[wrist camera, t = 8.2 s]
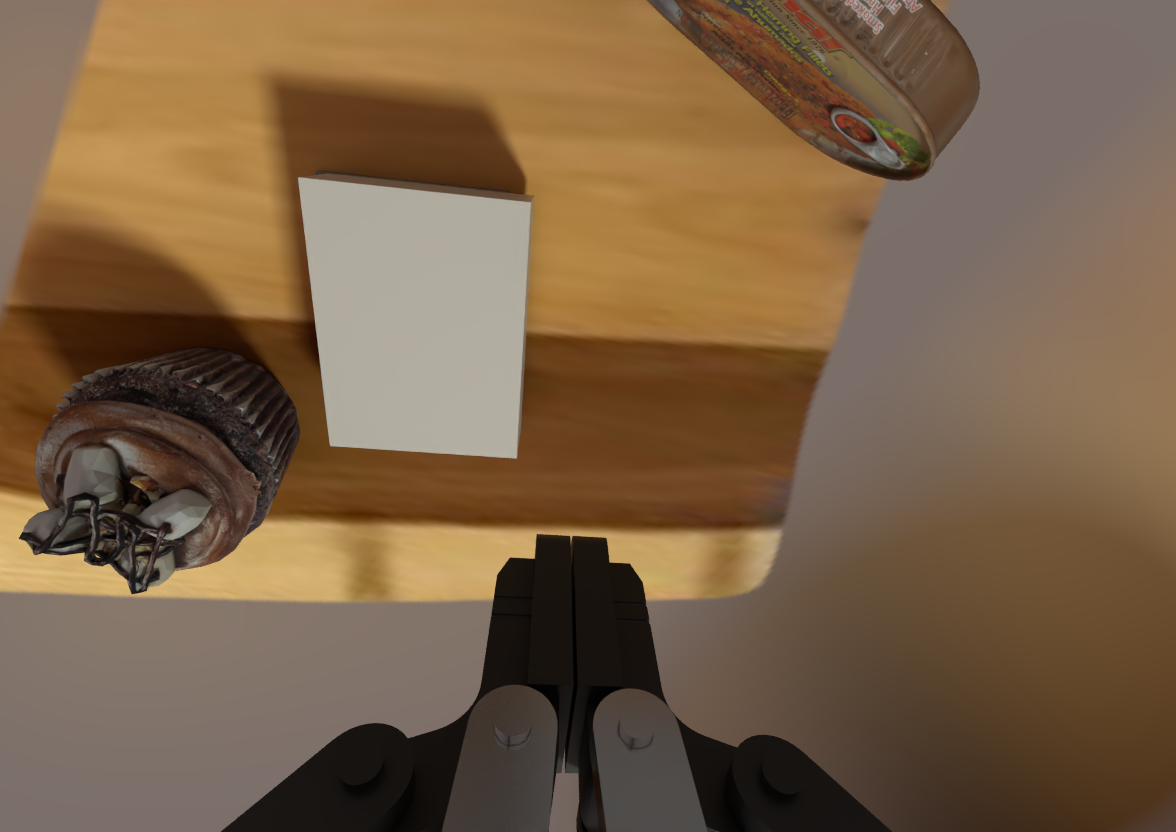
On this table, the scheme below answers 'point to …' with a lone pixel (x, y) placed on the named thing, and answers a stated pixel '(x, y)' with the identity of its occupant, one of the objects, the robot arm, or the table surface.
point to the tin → (844, 73)
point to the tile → (419, 312)
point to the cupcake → (162, 463)
